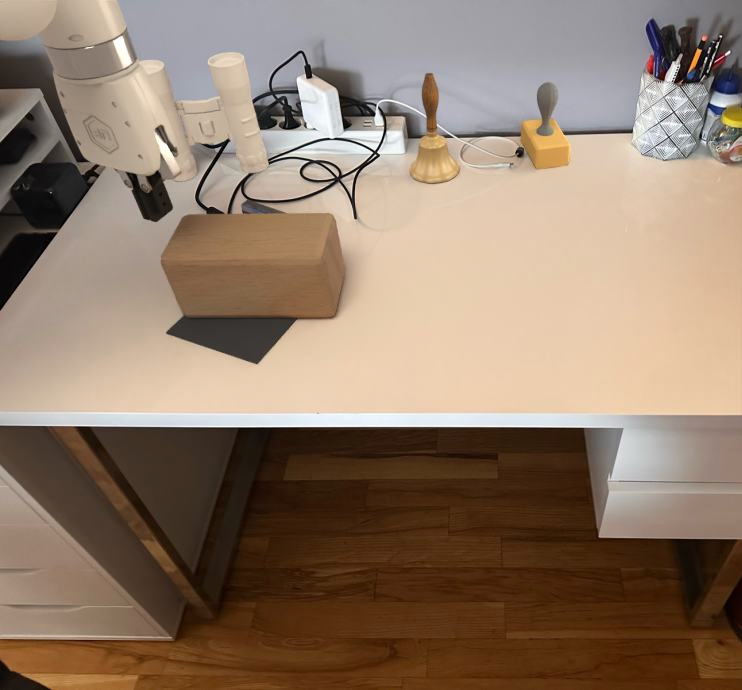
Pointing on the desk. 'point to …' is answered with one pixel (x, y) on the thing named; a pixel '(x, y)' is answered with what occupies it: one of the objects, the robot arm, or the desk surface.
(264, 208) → the mini dv tape
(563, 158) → the rubber stamp
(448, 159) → the hand bell
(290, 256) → the block
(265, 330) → the mat
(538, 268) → the desk surface
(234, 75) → the binoculars
